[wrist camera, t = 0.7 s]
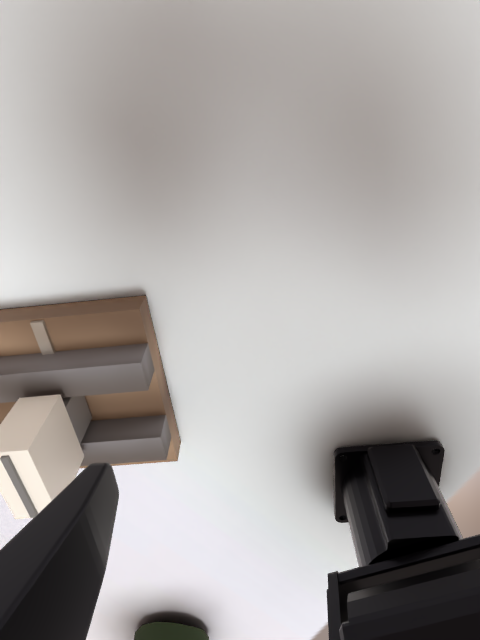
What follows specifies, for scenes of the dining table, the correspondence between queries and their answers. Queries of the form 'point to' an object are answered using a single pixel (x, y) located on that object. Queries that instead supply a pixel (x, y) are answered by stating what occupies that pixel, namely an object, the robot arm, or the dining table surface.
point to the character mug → (169, 632)
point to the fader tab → (40, 450)
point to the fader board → (97, 333)
